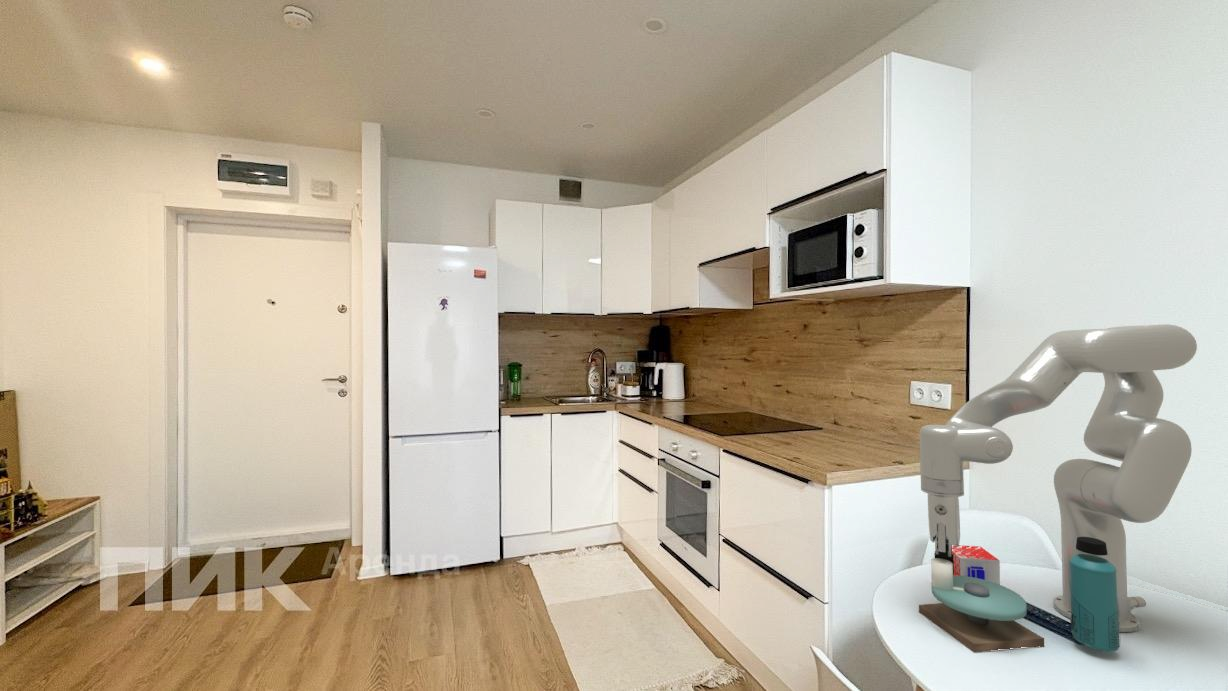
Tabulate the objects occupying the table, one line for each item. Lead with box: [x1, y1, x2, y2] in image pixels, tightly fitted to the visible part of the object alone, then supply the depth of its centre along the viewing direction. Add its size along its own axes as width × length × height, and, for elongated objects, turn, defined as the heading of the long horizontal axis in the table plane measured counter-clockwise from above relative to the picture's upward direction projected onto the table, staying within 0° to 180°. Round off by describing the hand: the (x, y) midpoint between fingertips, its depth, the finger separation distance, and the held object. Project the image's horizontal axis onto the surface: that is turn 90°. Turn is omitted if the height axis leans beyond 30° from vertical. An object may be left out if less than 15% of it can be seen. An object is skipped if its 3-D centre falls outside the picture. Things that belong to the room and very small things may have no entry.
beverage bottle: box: [1069, 537, 1121, 653], centre depth 90 cm, size 6×7×20 cm
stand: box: [918, 602, 1045, 653], centre depth 97 cm, size 14×14×5 cm
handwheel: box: [930, 557, 1028, 621], centre depth 97 cm, size 15×15×6 cm
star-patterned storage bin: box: [952, 544, 1001, 585], centre depth 114 cm, size 8×8×8 cm
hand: (944, 573), depth 103 cm, fingers closed
